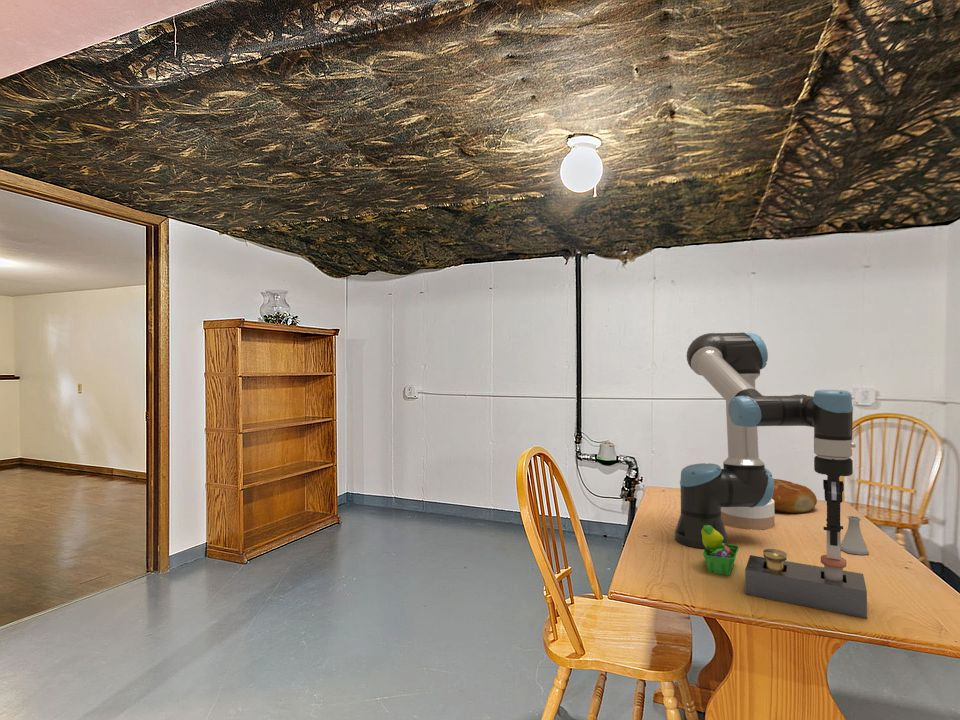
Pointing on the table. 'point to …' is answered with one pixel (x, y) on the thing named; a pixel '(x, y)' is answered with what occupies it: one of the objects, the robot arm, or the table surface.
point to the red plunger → (833, 568)
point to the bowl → (749, 516)
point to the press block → (807, 587)
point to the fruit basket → (717, 551)
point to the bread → (792, 497)
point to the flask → (854, 538)
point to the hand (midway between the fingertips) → (833, 557)
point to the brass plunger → (775, 559)
